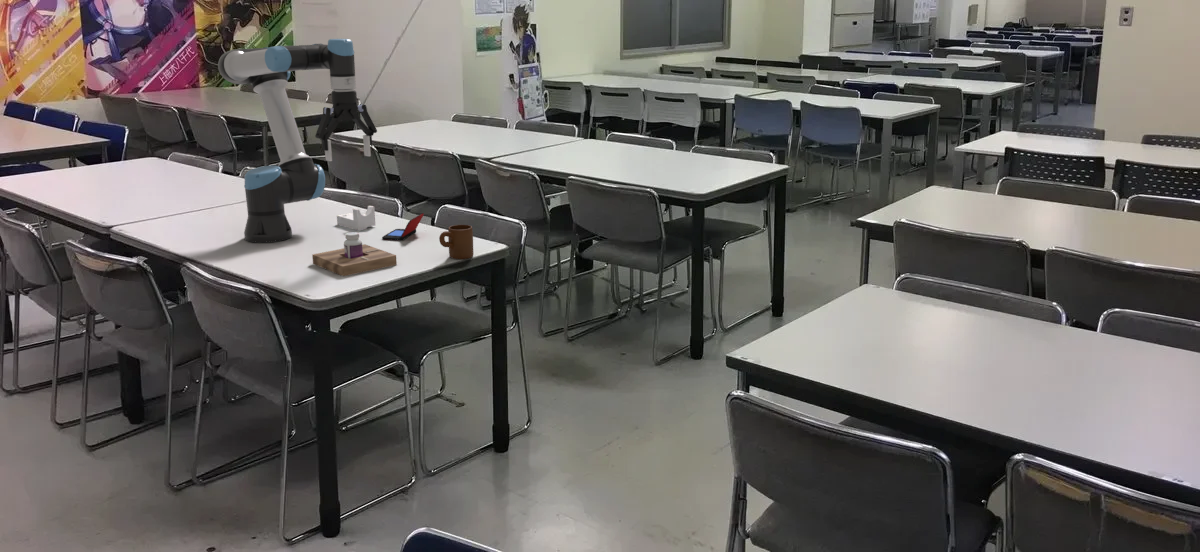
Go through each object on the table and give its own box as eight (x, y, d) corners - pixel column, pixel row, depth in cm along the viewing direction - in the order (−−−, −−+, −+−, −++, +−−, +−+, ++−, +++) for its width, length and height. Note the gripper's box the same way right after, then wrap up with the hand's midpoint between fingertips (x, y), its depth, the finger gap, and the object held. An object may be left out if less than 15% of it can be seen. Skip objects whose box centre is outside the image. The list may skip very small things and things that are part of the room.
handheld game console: (396, 231, 333) (395, 210, 331) (425, 233, 331) (424, 212, 329) (380, 240, 321) (379, 218, 319) (411, 242, 319) (409, 220, 317)
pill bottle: (366, 262, 294) (364, 231, 292) (359, 267, 289) (356, 236, 287) (350, 261, 295) (347, 230, 293) (342, 266, 290) (340, 235, 288)
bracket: (375, 227, 339) (374, 206, 337) (358, 231, 334) (356, 209, 332) (354, 222, 347) (353, 201, 345) (337, 225, 342) (335, 204, 340)
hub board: (313, 264, 293) (312, 253, 292) (365, 253, 305) (364, 243, 304) (343, 276, 280) (342, 265, 279) (396, 264, 292) (396, 254, 291)
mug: (448, 264, 293) (447, 233, 291) (432, 259, 298) (431, 229, 295) (478, 256, 302) (477, 227, 299) (462, 252, 307) (461, 223, 304)
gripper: (312, 93, 288) (318, 164, 294) (385, 88, 304) (389, 155, 310) (300, 91, 293) (306, 161, 299) (372, 86, 310) (376, 152, 316)
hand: (348, 158), depth 305 cm, fingers open, 13 cm apart
